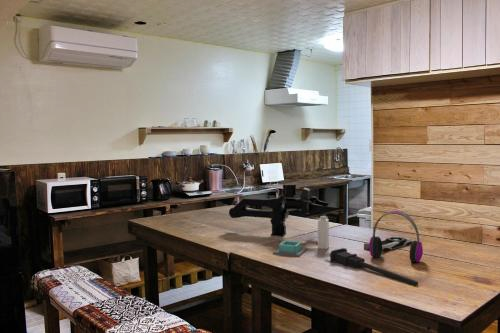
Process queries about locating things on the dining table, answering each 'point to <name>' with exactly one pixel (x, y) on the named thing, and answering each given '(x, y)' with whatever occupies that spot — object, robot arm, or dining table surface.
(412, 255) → the headphones
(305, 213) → the robot arm
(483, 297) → the dining table surface
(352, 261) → the electrical plug
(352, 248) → the dining table surface
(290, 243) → the holder board
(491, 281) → the dining table surface
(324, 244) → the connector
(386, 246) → the graphics card
